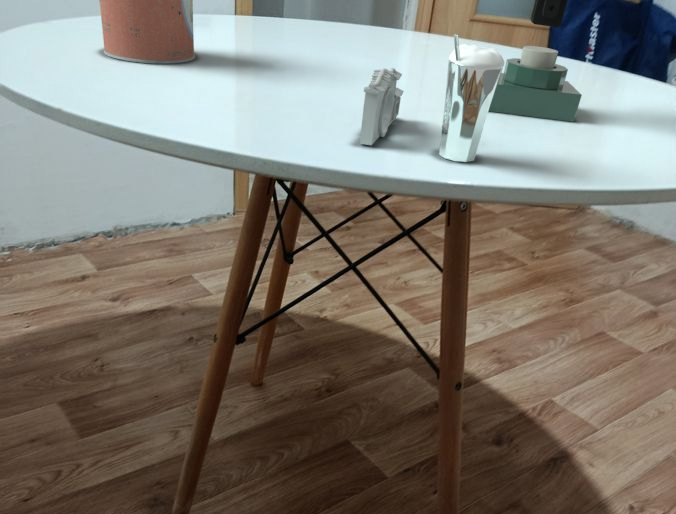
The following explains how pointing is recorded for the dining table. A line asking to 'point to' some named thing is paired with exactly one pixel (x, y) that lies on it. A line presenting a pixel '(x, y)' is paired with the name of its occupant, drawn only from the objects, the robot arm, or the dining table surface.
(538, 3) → the robot arm
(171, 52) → the canned food
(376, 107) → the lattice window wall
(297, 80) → the dining table surface
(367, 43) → the dining table surface
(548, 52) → the white short cylinder
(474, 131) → the milkshake
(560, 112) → the dispenser
